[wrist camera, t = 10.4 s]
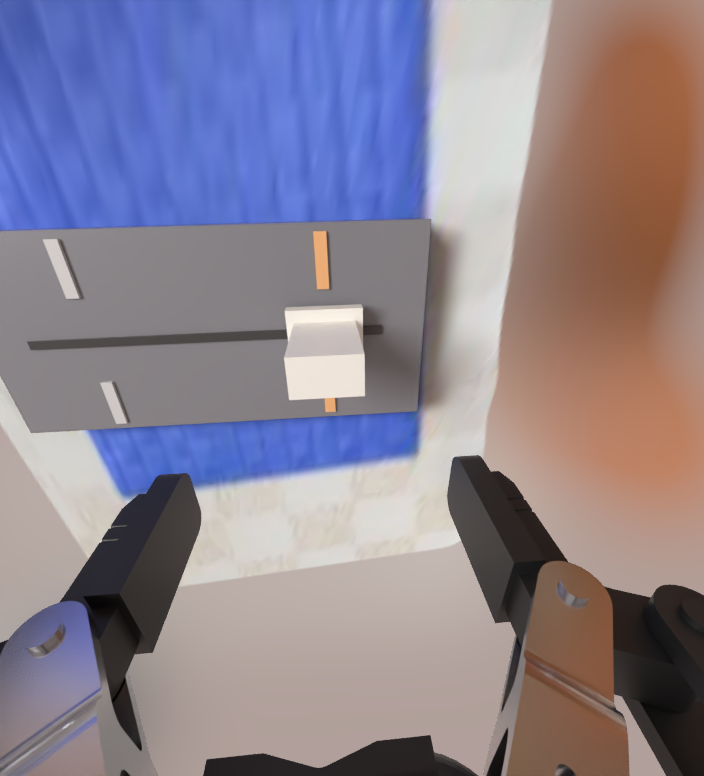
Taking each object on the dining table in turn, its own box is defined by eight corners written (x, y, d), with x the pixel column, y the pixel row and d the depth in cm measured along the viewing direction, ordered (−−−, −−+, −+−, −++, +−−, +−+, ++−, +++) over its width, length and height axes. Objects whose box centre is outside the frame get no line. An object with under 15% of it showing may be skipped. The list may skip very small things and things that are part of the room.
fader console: (-30, 230, 23) (-81, 233, 20) (419, 218, 24) (431, 219, 21) (58, 412, 29) (29, 434, 26) (409, 393, 31) (417, 412, 28)
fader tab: (286, 307, 23) (271, 342, 17) (361, 304, 23) (374, 338, 17) (292, 362, 25) (281, 413, 18) (361, 359, 25) (374, 408, 19)
